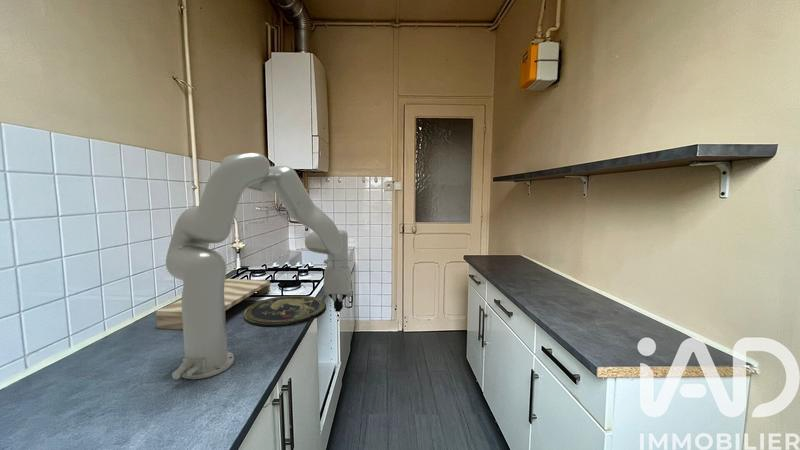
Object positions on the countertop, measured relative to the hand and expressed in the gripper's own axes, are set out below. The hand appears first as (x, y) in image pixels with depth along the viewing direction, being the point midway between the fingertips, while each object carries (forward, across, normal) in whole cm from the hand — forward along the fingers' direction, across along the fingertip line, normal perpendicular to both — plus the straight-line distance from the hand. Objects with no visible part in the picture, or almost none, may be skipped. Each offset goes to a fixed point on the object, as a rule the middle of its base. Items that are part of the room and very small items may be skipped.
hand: (338, 310), depth 123 cm
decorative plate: (+2, -20, 0) cm, 20 cm away
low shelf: (+1, -46, 0) cm, 46 cm away
